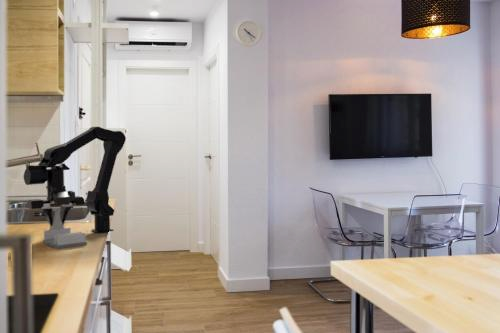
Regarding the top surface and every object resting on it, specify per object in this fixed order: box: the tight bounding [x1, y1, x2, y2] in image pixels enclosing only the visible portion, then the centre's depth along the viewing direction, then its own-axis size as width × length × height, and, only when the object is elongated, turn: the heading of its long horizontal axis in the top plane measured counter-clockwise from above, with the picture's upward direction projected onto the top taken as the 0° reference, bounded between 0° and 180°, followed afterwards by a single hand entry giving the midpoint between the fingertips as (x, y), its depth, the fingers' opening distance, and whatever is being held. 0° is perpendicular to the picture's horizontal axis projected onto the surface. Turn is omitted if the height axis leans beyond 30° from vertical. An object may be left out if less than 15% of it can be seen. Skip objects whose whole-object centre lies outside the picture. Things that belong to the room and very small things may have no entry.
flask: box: [49, 208, 66, 230], centre depth 191 cm, size 7×7×10 cm
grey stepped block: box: [42, 227, 88, 249], centre depth 180 cm, size 14×10×4 cm
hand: (56, 226), depth 191 cm, fingers closed on flask, 3 cm apart
